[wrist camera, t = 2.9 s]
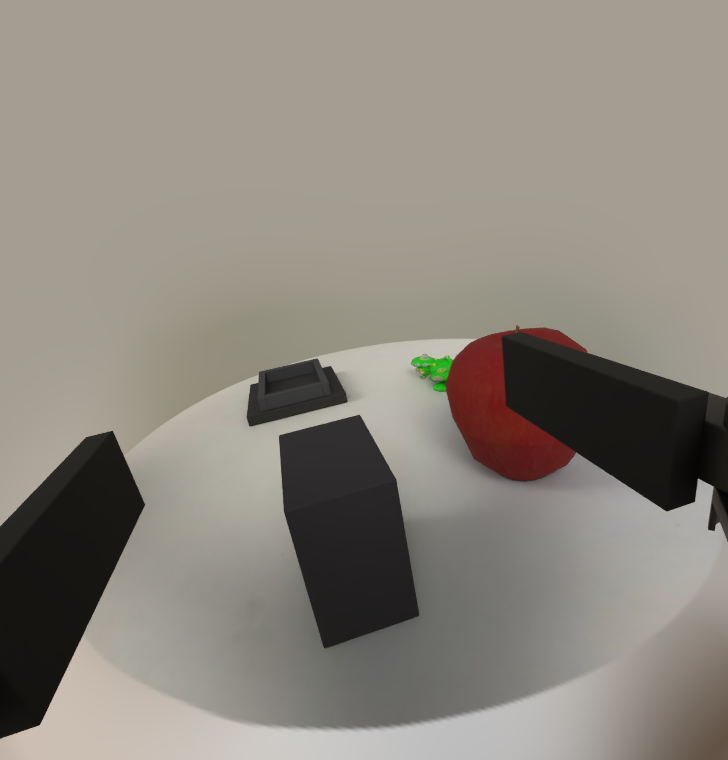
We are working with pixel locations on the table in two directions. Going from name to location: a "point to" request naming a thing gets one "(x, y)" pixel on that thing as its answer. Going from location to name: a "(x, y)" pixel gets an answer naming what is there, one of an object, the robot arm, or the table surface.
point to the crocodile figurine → (434, 369)
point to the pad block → (346, 529)
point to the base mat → (293, 391)
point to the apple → (501, 411)
